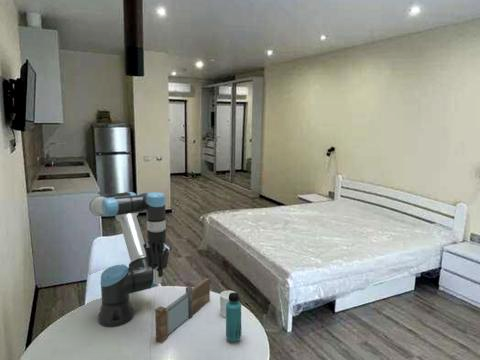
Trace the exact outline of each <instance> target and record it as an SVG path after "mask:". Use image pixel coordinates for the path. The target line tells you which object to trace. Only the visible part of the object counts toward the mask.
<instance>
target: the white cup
mask: <svg viewBox="0 0 480 360" xmlns="http://www.w3.org/2000/svg"><path fill="white" fill-rule="evenodd" d="M230 293H237V292H236V291H233V290H224V291H221V292H220V293H219V304H220V315H221V317H223V318H225V319H226V304H227V303H228V302H229V294H230Z"/></svg>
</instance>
